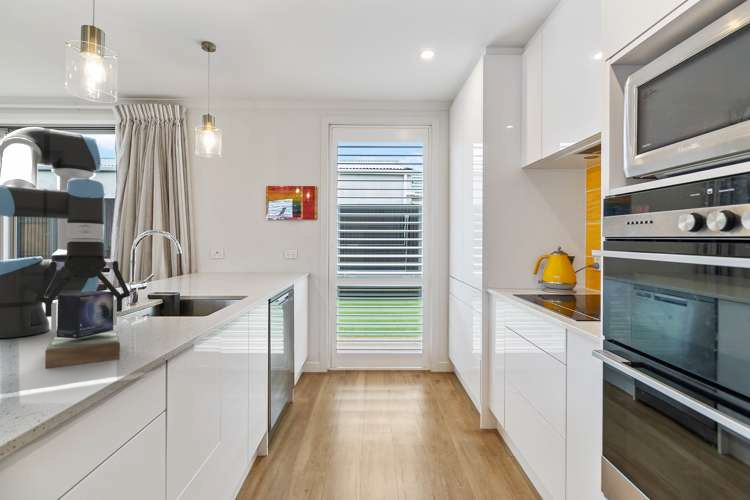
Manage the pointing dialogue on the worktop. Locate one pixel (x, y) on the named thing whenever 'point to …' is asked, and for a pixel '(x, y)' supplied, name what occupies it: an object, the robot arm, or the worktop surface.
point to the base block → (82, 349)
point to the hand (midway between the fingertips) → (85, 327)
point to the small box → (84, 314)
